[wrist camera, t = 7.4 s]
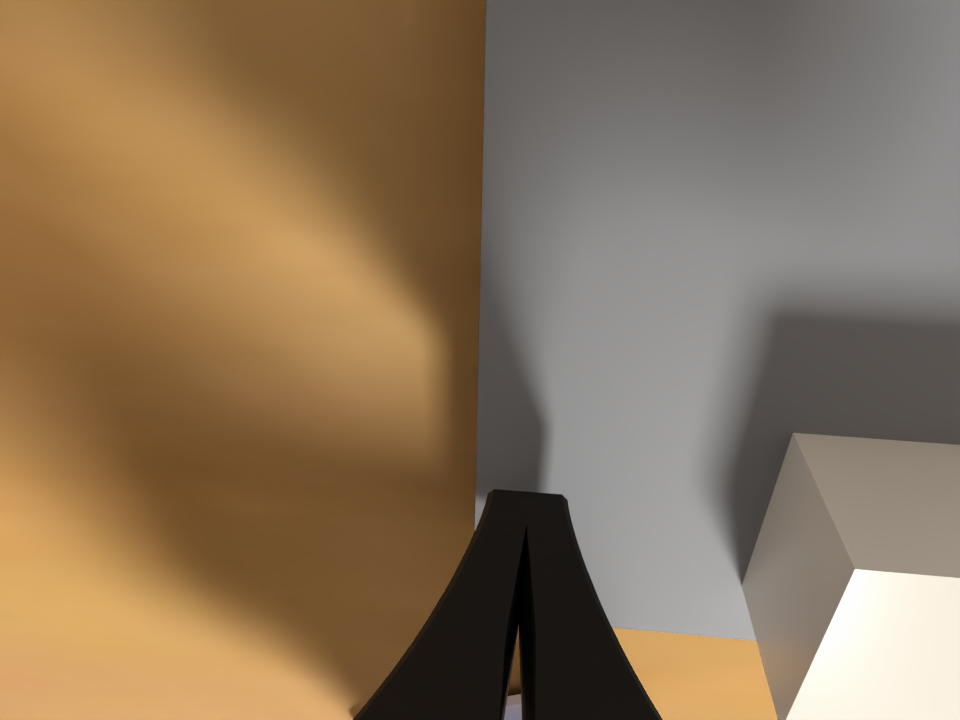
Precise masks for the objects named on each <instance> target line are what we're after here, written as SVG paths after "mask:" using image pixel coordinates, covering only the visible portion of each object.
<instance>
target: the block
mask: <svg viewBox="0 0 960 720" xmlns="http://www.w3.org/2000/svg"><path fill="white" fill-rule="evenodd" d="M742 590H743V593H744V597H745V601H746V604H747V608H748V612H749V615H750V619H751V623H752V626H753V630H754V634H755V637H756V641H757V645H758V648H759V652H760V656H761V659H762V663H763V666H764V670H765V674H766V677H767V681H768V685H769V688H770V692H771V696H772V699H773V703H774V707H775V710H776V714H777V718H778V720H960V445H954V444H940V443H927V442H913V441H899V440H886V439H872V438H858V437H844V436H831V435H817V434H803V433H793V434H792V437H791V440H790V443H789V446H788V449H787V452H786V455H785V458H784V461H783V464H782V467H781V470H780V473H779V476H778V479H777V482H776V485H775V488H774V491H773V494H772V497H771V500H770V503H769V506H768V509H767V512H766V515H765V518H764V521H763V524H762V527H761V530H760V533H759V536H758V538H757V541H756V544H755V547H754V550H753V553H752V556H751V559H750V562H749V565H748V568H747V571H746V574H745V577H744V580H743V583H742Z"/></svg>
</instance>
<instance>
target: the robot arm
mask: <svg viewBox="0 0 960 720" xmlns="http://www.w3.org/2000/svg"><path fill="white" fill-rule="evenodd" d="M518 625H519V649H520V678H521V694H517V695H511V696H508V690H509V684H510V677H511V671H512V664H513V658H514V651H515V645H516V638H517V631H518ZM353 720H662V718H661V716H660V715H659V713H658V711H657V710H656V708H655V706H654V705H653V703H652V702H651V700H650V698H649V697H648V695H647V693H646V691H645V690H644V688H643V686H642V684H641V683H640V681H639V679H638V677H637V675H636V674H635V672H634V670H633V668H632V666H631V664H630V663H629V661H628V659H627V657H626V655H625V653H624V651H623V649H622V647H621V645H620V643H619V641H618V639H617V637H616V635H615V633H614V631H613V629H612V627H611V624H610V622H609V620H608V618H607V616H606V614H605V611H604V609H603V607H602V605H601V602H600V600H599V598H598V595H597V593H596V590H595V588H594V585H593V583H592V580H591V578H590V575H589V573H588V571H587V568H586V565H585V562H584V560H583V557H582V554H581V551H580V548H579V545H578V542H577V539H576V535H575V532H574V528H573V524H572V521H571V516H570V512H569V506H568V500H567V499H566V498H565V497H564V496H563V495H562V494H550V493H538V492H525V491H513V490H500V489H494V490H492V491H490V492H489V493H488V494H487V499H486V503H485V506H484V509H483V512H482V515H481V518H480V520H479V523H478V525H477V528H476V530H475V533H474V535H473V537H472V539H471V542H470V544H469V546H468V548H467V550H466V552H465V554H464V556H463V558H462V560H461V562H460V564H459V566H458V568H457V570H456V572H455V574H454V576H453V578H452V579H451V581H450V583H449V585H448V587H447V588H446V590H445V592H444V593H443V595H442V597H441V598H440V600H439V602H438V603H437V605H436V607H435V608H434V610H433V612H432V613H431V615H430V617H429V618H428V620H427V621H426V623H425V624H424V626H423V628H422V629H421V631H420V632H419V634H418V635H417V637H416V638H415V640H414V641H413V642H412V644H411V645H410V647H409V648H408V650H407V651H406V652H405V654H404V655H403V657H402V658H401V659H400V661H399V662H398V664H397V665H396V666H395V668H394V669H393V670H392V672H391V673H390V674H389V675H388V677H387V678H386V679H385V681H384V682H383V683H382V684H381V686H380V687H379V688H378V690H377V691H376V692H375V693H374V695H373V696H372V697H371V699H370V700H369V701H368V702H367V703H366V705H365V706H364V707H363V708H362V709H361V711H360V712H359V713H358V714H357V715H356V717H355V718H354V719H353Z"/></svg>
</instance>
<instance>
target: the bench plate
mask: <svg viewBox="0 0 960 720" xmlns="http://www.w3.org/2000/svg"><path fill="white" fill-rule="evenodd" d="M793 433H803V434H817V435H831V436H844V437H858V438H872V439H886V440H899V441H913V442H927V443H940V444H954V445H960V0H486V41H485V87H484V132H483V178H482V224H481V269H480V315H479V360H478V406H477V452H476V497H475V530H476V528H477V525H478V523H479V520H480V518H481V515H482V512H483V509H484V506H485V503H486V499H487V494H488V493H489V492H490V491H492V490H494V489H500V490H513V491H525V492H538V493H550V494H562V495H563V496H564V497H565V498H566V499H567V500H568V506H569V512H570V516H571V521H572V524H573V528H574V532H575V535H576V539H577V542H578V545H579V548H580V551H581V554H582V557H583V560H584V562H585V565H586V568H587V571H588V573H589V575H590V578H591V580H592V583H593V585H594V588H595V590H596V593H597V595H598V598H599V600H600V602H601V605H602V607H603V609H604V611H605V614H606V616H607V618H608V620H609V622H610V624H611V627H612V628H623V629H633V630H644V631H655V632H665V633H676V634H687V635H698V636H708V637H719V638H730V639H740V640H751V641H756V637H755V634H754V630H753V626H752V623H751V619H750V615H749V612H748V608H747V604H746V601H745V597H744V593H743V590H742V583H743V580H744V577H745V574H746V571H747V568H748V565H749V562H750V559H751V556H752V553H753V550H754V547H755V544H756V541H757V538H758V536H759V533H760V530H761V527H762V524H763V521H764V518H765V515H766V512H767V509H768V506H769V503H770V500H771V497H772V494H773V491H774V488H775V485H776V482H777V479H778V476H779V473H780V470H781V467H782V464H783V461H784V458H785V455H786V452H787V449H788V446H789V443H790V440H791V437H792V434H793Z"/></svg>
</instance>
